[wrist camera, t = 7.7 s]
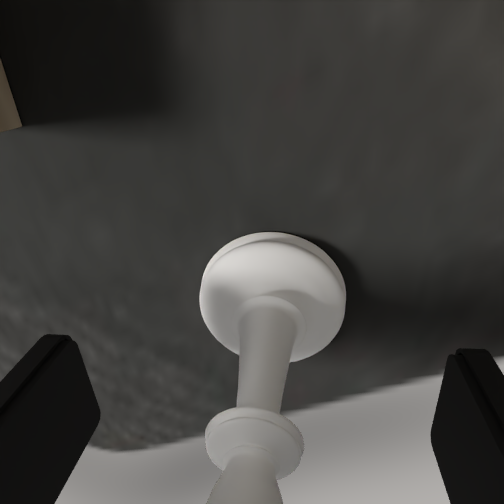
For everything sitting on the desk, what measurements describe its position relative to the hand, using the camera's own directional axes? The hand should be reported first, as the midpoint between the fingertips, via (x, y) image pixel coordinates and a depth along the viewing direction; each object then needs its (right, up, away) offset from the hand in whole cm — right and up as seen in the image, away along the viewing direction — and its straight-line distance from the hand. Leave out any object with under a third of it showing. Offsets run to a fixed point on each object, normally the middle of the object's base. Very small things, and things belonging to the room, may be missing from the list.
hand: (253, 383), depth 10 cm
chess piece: (+1, +2, +4) cm, 4 cm away
